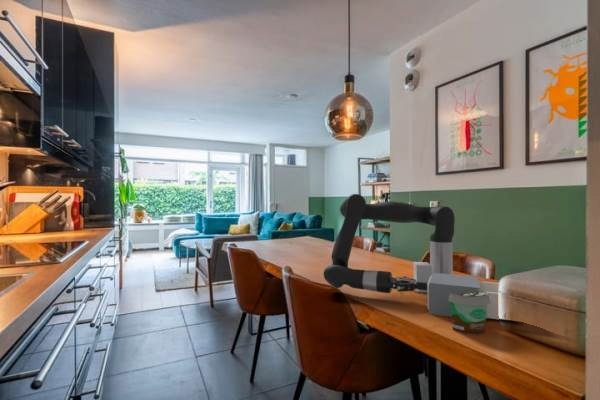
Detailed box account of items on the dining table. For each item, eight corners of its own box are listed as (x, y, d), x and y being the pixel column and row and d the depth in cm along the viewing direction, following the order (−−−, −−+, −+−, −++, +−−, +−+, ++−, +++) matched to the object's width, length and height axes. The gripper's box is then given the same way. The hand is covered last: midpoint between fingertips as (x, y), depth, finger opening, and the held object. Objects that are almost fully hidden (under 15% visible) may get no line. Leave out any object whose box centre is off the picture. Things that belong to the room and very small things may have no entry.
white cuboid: (427, 309, 97) (427, 284, 97) (431, 297, 109) (430, 275, 109) (523, 322, 85) (522, 294, 86) (514, 307, 98) (514, 283, 98)
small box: (432, 293, 118) (432, 265, 118) (417, 292, 119) (416, 265, 119) (428, 287, 126) (427, 262, 126) (413, 287, 127) (413, 261, 127)
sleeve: (429, 313, 96) (428, 282, 96) (432, 299, 110) (432, 272, 110) (481, 321, 89) (480, 288, 89) (477, 305, 103) (477, 276, 104)
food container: (469, 339, 77) (468, 299, 77) (448, 330, 83) (448, 293, 83) (501, 331, 82) (500, 293, 82) (479, 323, 88) (479, 288, 88)
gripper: (373, 274, 105) (427, 279, 97) (381, 267, 117) (430, 271, 109) (373, 296, 105) (427, 303, 97) (381, 287, 117) (430, 292, 109)
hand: (429, 286), depth 103 cm, fingers closed
